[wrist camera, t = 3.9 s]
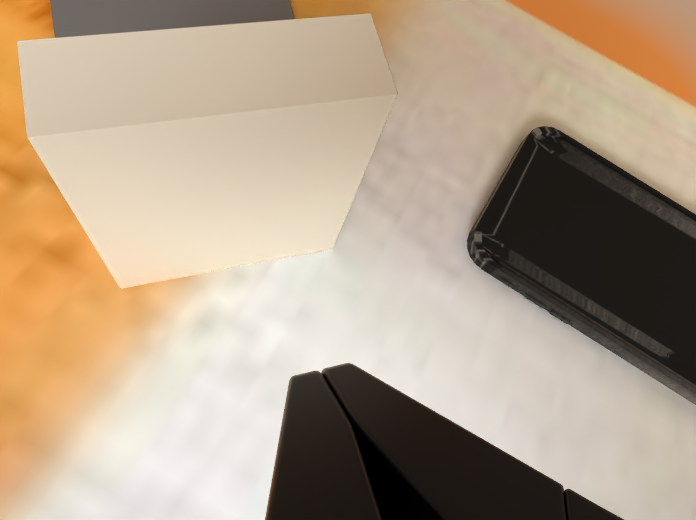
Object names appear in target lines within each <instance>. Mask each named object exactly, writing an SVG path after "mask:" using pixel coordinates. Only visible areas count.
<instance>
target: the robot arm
mask: <svg viewBox="0 0 696 520" xmlns="http://www.w3.org/2000/svg"><path fill="white" fill-rule="evenodd" d="M265 520H624V519H622V518H620V517H618V516H616V515H614V514H613V513H611V512H609V511H607V510H605V509H604V508H602V507H600V506H598V505H596V504H595V503H593V502H591V501H589V500H588V499H586V498H584V497H583V496H581V495H579V494H577V493H576V492H574V491H572V490H570V489H566V490H565V491H564V489H563V486H562V485H561V484H560V483H558V482H556V481H554V480H553V479H551V478H549V477H547V476H546V475H544V474H542V473H540V472H539V471H537V470H535V469H534V468H532V467H530V466H528V465H527V464H525V463H523V462H521V461H520V460H518V459H516V458H514V457H513V456H511V455H509V454H508V453H506V452H504V451H502V450H501V449H499V448H497V447H495V446H494V445H492V444H490V443H488V442H487V441H485V440H483V439H482V438H480V437H478V436H476V435H475V434H473V433H471V432H469V431H468V430H466V429H464V428H462V427H461V426H459V425H457V424H456V423H454V422H452V421H450V420H449V419H447V418H445V417H443V416H442V415H440V414H438V413H436V412H435V411H433V410H431V409H430V408H428V407H426V406H424V405H423V404H421V403H419V402H417V401H416V400H414V399H412V398H410V397H409V396H407V395H405V394H404V393H402V392H400V391H398V390H397V389H395V388H393V387H391V386H390V385H388V384H386V383H384V382H383V381H381V380H379V379H378V378H376V377H374V376H372V375H371V374H369V373H367V372H365V371H364V370H362V369H360V368H358V367H357V366H355V365H353V364H350V363H345V364H341V365H337V366H333V367H329V368H325V369H324V370H323V371H322V373H320V372H319V371H312V372H308V373H304V374H300V375H295V376H293V377H291V379H290V381H289V386H288V392H287V397H286V403H285V409H284V415H283V420H282V426H281V432H280V437H279V443H278V449H277V455H276V460H275V466H274V472H273V478H272V483H271V489H270V495H269V500H268V506H267V512H266V518H265Z"/></svg>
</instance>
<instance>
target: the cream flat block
mask: <svg viewBox="0 0 696 520" xmlns="http://www.w3.org/2000/svg"><path fill="white" fill-rule="evenodd" d="M17 45H18V54H19V64H20V73H21V83H22V92H23V102H24V112H25V121H26V131H27V138H28V139H29V141H30V143H31V144H32V146H33V148H34V149H35V151H36V152H37V154H38V156H39V157H40V159H41V161H42V162H43V164H44V165H45V167H46V169H47V170H48V172H49V174H50V175H51V177H52V178H53V180H54V182H55V183H56V185H57V187H58V188H59V190H60V191H61V193H62V195H63V196H64V198H65V200H66V201H67V203H68V204H69V206H70V208H71V209H72V211H73V213H74V214H75V216H76V217H77V219H78V221H79V222H80V224H81V226H82V227H83V229H84V230H85V232H86V234H87V235H88V237H89V239H90V240H91V242H92V243H93V245H94V247H95V248H96V250H97V252H98V253H99V255H100V256H101V258H102V260H103V261H104V263H105V265H106V266H107V268H108V269H109V271H110V273H111V274H112V276H113V277H114V279H115V281H116V282H117V284H118V286H119V287H120V289H121V288H126V287H132V286H137V285H143V284H148V283H153V282H159V281H164V280H169V279H175V278H180V277H186V276H191V275H196V274H202V273H207V272H212V271H218V270H223V269H229V268H234V267H239V266H245V265H250V264H255V263H261V262H266V261H272V260H277V259H282V258H288V257H293V256H298V255H304V254H309V253H315V252H320V251H325V250H331V249H333V247H334V244H335V242H336V240H337V237H338V235H339V233H340V230H341V228H342V225H343V223H344V221H345V218H346V216H347V214H348V211H349V209H350V206H351V204H352V202H353V199H354V197H355V194H356V192H357V190H358V187H359V185H360V183H361V180H362V178H363V175H364V173H365V171H366V168H367V166H368V164H369V161H370V159H371V156H372V154H373V152H374V149H375V147H376V144H377V142H378V140H379V137H380V135H381V133H382V130H383V128H384V125H385V123H386V121H387V118H388V116H389V114H390V111H391V109H392V106H393V104H394V102H395V99H396V97H397V94H398V93H397V90H396V87H395V84H394V81H393V78H392V75H391V72H390V69H389V66H388V63H387V61H386V58H385V55H384V52H383V49H382V46H381V43H380V40H379V37H378V34H377V31H376V28H375V25H374V22H373V19H372V16H371V13H368V14H355V15H343V16H330V17H317V18H304V19H291V20H279V21H266V22H253V23H240V24H227V25H214V26H202V27H189V28H176V29H163V30H150V31H138V32H125V33H112V34H99V35H86V36H73V37H61V38H48V39H35V40H22V41H17Z"/></svg>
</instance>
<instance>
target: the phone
mask: <svg viewBox="0 0 696 520" xmlns="http://www.w3.org/2000/svg"><path fill="white" fill-rule="evenodd" d="M467 248H468V251H469V255H470V257H471V258H472V260H473V261H474V263H475V264H476V265H477V266H479V267H480V268H481V269H482V270H484V271H485V272H487V273H489V274H490V275H492V276H493V277H495V278H497V279H498V280H500V281H501V282H503V283H504V284H506V285H508V286H509V287H511V288H512V289H514V290H515V291H517V292H519V293H520V294H522V295H523V296H524V297H526V298H527V299H529V300H531V301H532V302H534V303H535V304H537V305H538V306H540V307H542V308H544V309H545V310H547V311H549V312H550V314H552V315H553V316H555V317H557V318H558V319H560V320H561V321H563V322H564V323H566V324H569V325H571V326H572V327H574V328H575V329H577V330H579V331H580V332H582V333H583V334H585V335H586V336H588V337H590V338H591V339H593V340H594V341H596V342H598V343H599V344H601V345H602V346H604V347H605V348H607V349H609V350H610V351H612V352H613V353H615V354H616V355H618V356H620V357H621V358H623V359H624V360H626V361H627V362H629V363H631V364H632V365H634V366H635V367H637V368H639V369H640V370H642V371H643V372H645V373H646V374H648V375H650V376H651V377H653V378H654V379H656V380H657V381H659V382H661V383H662V384H664V385H665V386H667V387H669V388H670V389H672V390H673V391H675V392H676V393H678V394H680V395H681V396H683V397H684V398H686V399H687V400H689V401H691V402H692V403H694V404H695V405H696V215H695V214H694V213H692V212H691V211H689V210H687V209H686V208H684V207H682V206H681V205H679V204H678V203H676V202H674V201H673V200H671V199H670V198H668V197H666V196H665V195H663V194H661V193H660V192H658V191H657V190H655V189H653V188H652V187H650V186H649V185H647V184H645V183H644V182H642V181H640V180H639V179H637V178H636V177H634V176H632V175H631V174H629V173H627V172H626V171H624V170H623V169H621V168H619V167H618V166H616V165H615V164H613V163H611V162H610V161H608V160H606V159H605V158H603V157H602V156H600V155H598V154H597V153H595V152H594V151H592V150H590V149H589V148H587V147H585V146H584V145H582V144H581V143H579V142H577V141H576V140H574V139H572V138H571V137H569V136H568V135H566V134H564V133H563V132H561V131H559V130H557V129H555V128H552V127H547V126H544V127H538V128H536V129H534V130H532V131H531V132H530V134H529V135H528V136H527V137H526V138H525V139H524V141H523V142H522V143H521V144H520V146H519V148H518V149H517V151H516V153H515V155H514V156H513V158H512V160H511V162H510V163H509V165H508V167H507V169H506V170H505V172H504V174H503V176H502V177H501V179H500V181H499V183H498V184H497V186H496V188H495V190H494V191H493V193H492V195H491V197H490V198H489V200H488V202H487V204H486V205H485V207H484V209H483V211H482V212H481V214H480V216H479V218H478V219H477V221H476V223H475V225H474V227H473V228H472V230H471V232H470V234H469V237H468V240H467Z"/></svg>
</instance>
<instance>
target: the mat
mask: <svg viewBox="0 0 696 520" xmlns="http://www.w3.org/2000/svg"><path fill="white" fill-rule="evenodd" d="M50 2H51V9H52V17H53V25H54V33H55V38H61V37H73V36H86V35H99V34H112V33H125V32H138V31H150V30H163V29H176V28H189V27H202V26H214V25H227V24H240V23H253V22H266V21H279V20H291V19H294V16H293V12H292V9H291V5H290V2H289V0H50Z"/></svg>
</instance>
